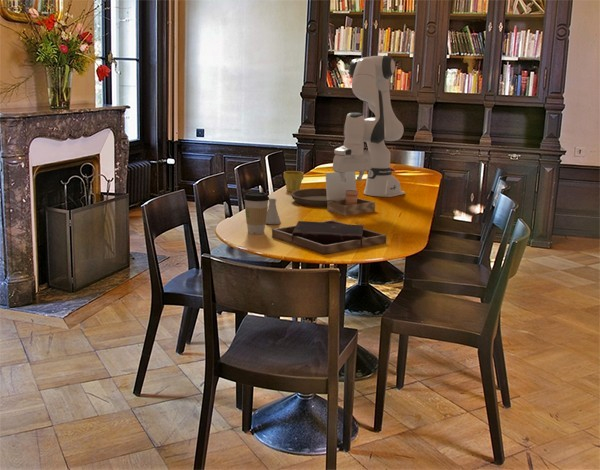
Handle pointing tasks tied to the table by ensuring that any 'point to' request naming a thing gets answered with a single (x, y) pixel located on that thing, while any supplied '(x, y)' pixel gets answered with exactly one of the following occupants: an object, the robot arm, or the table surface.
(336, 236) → the diary
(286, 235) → the desk tray
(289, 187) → the plant pot
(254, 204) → the coffee cup
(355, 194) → the pot
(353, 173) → the upright grey panel
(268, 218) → the flask
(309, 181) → the table surface
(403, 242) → the table surface
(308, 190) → the plant saucer
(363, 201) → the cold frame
